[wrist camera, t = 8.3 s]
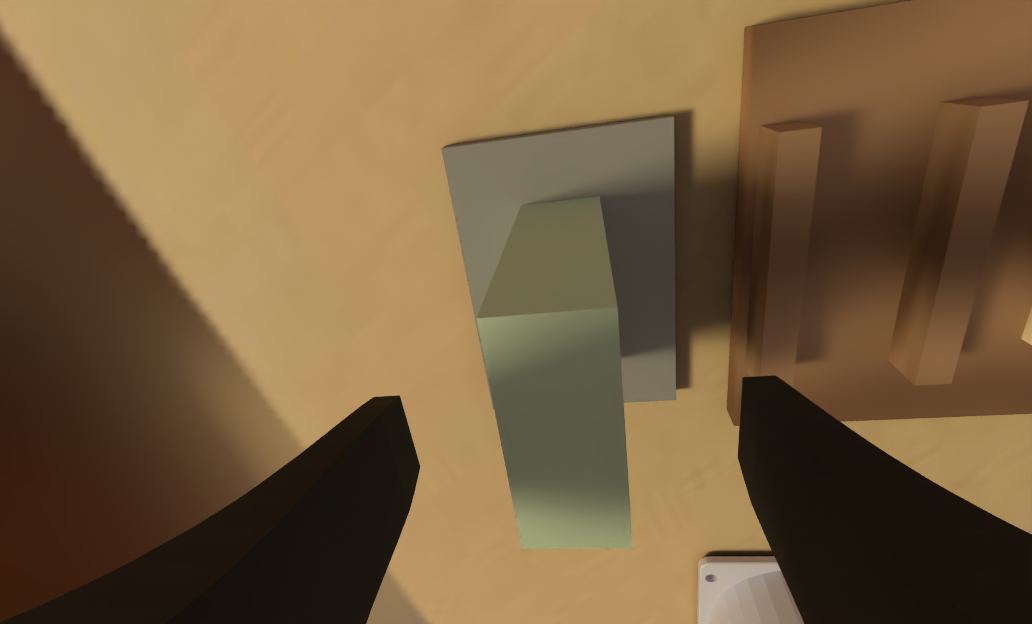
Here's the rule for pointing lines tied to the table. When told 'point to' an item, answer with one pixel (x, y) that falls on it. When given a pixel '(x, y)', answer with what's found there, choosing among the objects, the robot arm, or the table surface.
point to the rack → (887, 210)
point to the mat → (626, 214)
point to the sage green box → (559, 378)
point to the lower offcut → (1028, 329)
